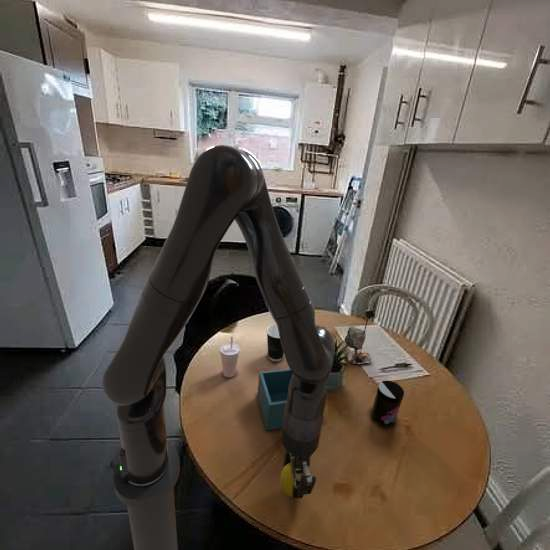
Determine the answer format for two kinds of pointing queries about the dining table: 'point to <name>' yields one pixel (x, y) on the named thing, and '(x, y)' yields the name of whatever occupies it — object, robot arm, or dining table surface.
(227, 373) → the smoothie
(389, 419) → the supplement container
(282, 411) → the teal lidded box
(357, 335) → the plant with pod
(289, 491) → the lemon
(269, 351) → the dixie cup
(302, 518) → the dining table surface
